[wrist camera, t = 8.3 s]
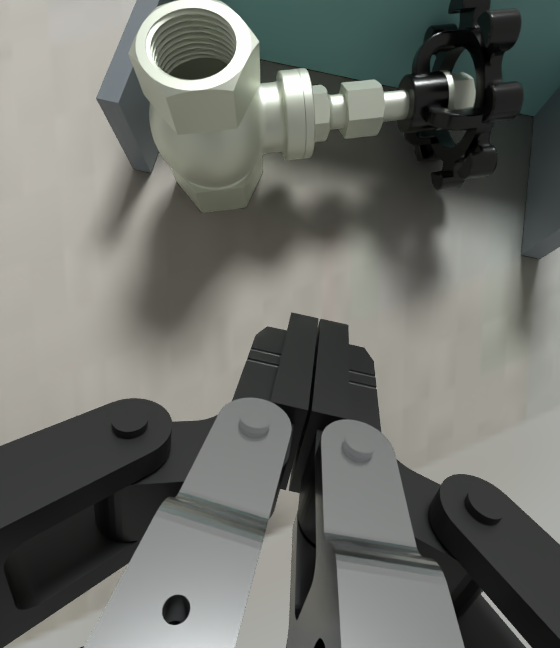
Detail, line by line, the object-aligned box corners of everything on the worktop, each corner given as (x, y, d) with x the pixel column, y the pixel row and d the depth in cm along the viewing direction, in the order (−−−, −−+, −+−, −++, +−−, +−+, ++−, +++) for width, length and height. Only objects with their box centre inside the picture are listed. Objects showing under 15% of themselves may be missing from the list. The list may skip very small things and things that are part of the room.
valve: (179, 252, 17) (453, 218, 18) (126, 148, 11) (555, 103, 12) (167, 120, 19) (419, 94, 20) (114, -38, 12) (492, -68, 13)
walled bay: (133, 168, 18) (68, 45, 12) (184, 29, 20) (150, -134, 14) (540, 258, 17) (675, 174, 12) (552, 106, 19) (673, -32, 14)
